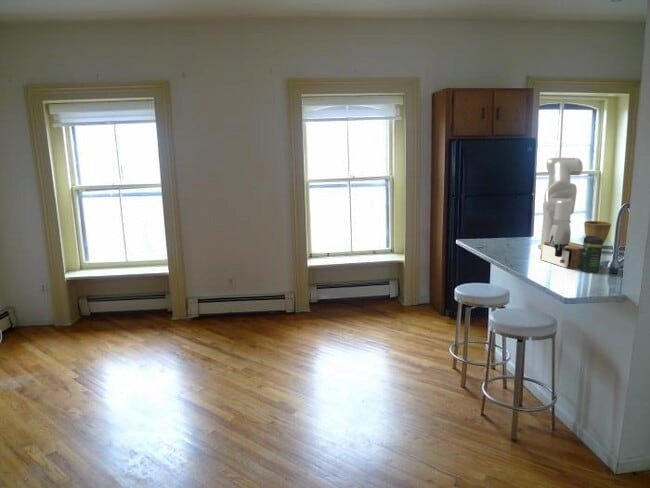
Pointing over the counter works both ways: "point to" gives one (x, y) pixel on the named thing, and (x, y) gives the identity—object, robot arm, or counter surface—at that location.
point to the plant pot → (597, 229)
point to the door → (549, 256)
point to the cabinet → (572, 254)
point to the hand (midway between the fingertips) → (558, 256)
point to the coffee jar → (591, 254)
